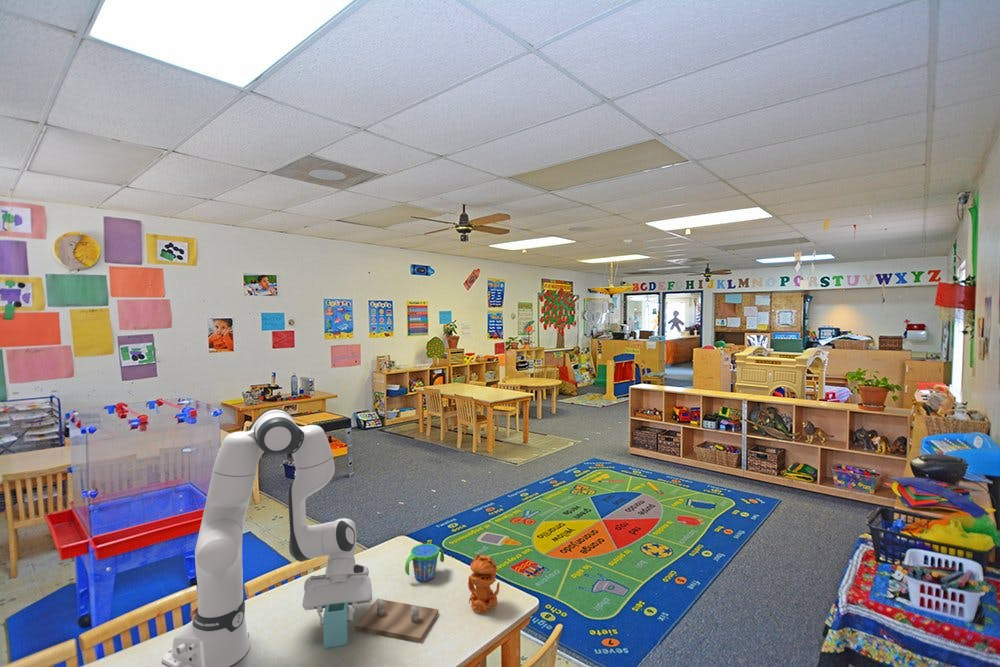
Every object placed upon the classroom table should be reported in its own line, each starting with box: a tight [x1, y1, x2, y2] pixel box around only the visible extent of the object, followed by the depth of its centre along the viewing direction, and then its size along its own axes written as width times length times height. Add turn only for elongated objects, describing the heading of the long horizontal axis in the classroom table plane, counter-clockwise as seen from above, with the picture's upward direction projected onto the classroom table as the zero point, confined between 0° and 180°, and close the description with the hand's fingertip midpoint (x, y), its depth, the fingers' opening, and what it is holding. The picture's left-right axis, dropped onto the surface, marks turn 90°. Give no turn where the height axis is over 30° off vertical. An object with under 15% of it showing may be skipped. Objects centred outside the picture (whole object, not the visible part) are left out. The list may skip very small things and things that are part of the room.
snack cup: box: [404, 543, 445, 582], centre depth 172 cm, size 16×11×10 cm
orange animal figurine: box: [467, 554, 500, 613], centre depth 154 cm, size 11×11×18 cm
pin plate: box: [354, 598, 439, 644], centre depth 147 cm, size 22×14×6 cm, turn 76°
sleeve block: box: [323, 602, 350, 649], centre depth 139 cm, size 6×6×10 cm
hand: (336, 622), depth 138 cm, fingers closed on sleeve block, 6 cm apart
